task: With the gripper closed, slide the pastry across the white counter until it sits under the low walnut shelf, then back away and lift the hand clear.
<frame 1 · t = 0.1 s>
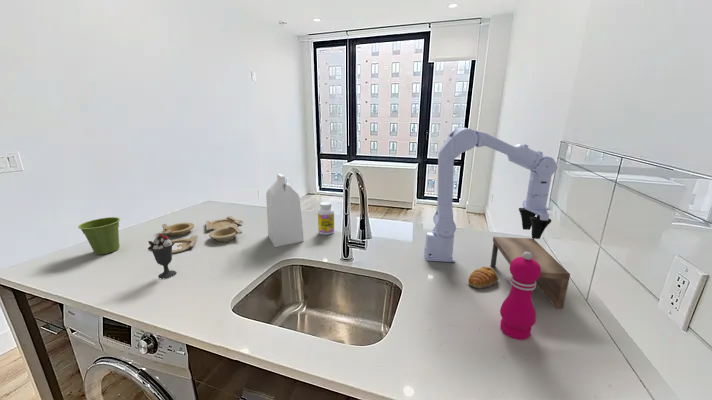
hand: (530, 233, 100), 10 cm above the worktop, tool pointing down, fingers open, 7 cm apart
plant pot: (107, 251, 113), on the worktop
sundae: (167, 275, 96), on the worktop
milk: (285, 238, 123), on the worktop
pastry: (482, 282, 91), on the worktop
pepper mill: (514, 331, 71), on the worktop
walnut shelf: (521, 284, 90), on the worktop
supplement bottle: (326, 232, 129), on the worktop
tableware set: (202, 236, 127), on the worktop
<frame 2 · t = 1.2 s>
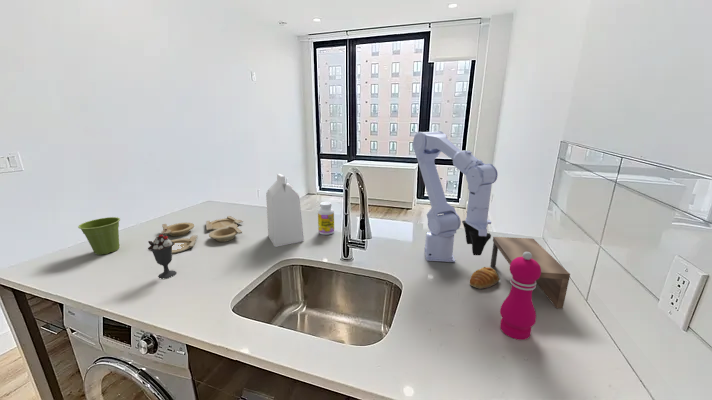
hand: (473, 249, 92), 9 cm above the worktop, tool pointing down, fingers open, 7 cm apart
nothing on the worktop moved.
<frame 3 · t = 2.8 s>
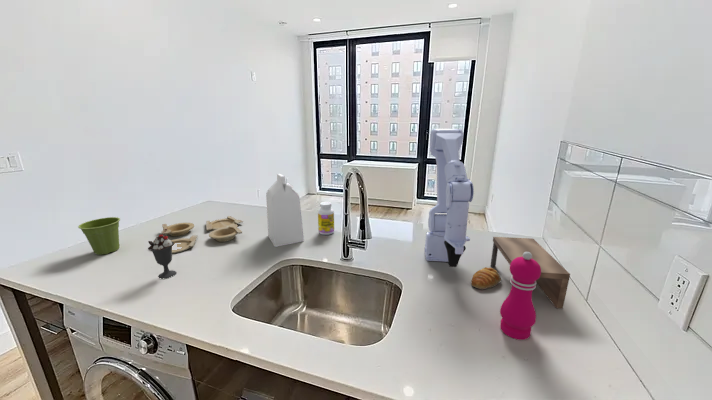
hand: (452, 265, 91), 5 cm above the worktop, tool pointing down, fingers closed
nothing on the worktop moved.
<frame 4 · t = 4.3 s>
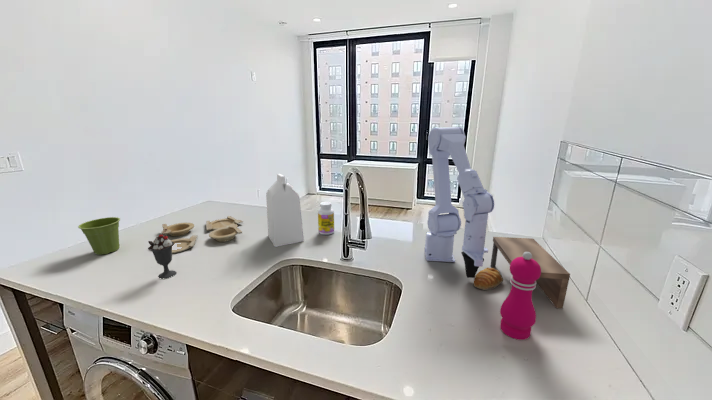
hand: (470, 276, 91), 1 cm above the worktop, tool pointing down, fingers closed
pastry: (487, 284, 90), on the worktop, touching gripper
everything else where it was.
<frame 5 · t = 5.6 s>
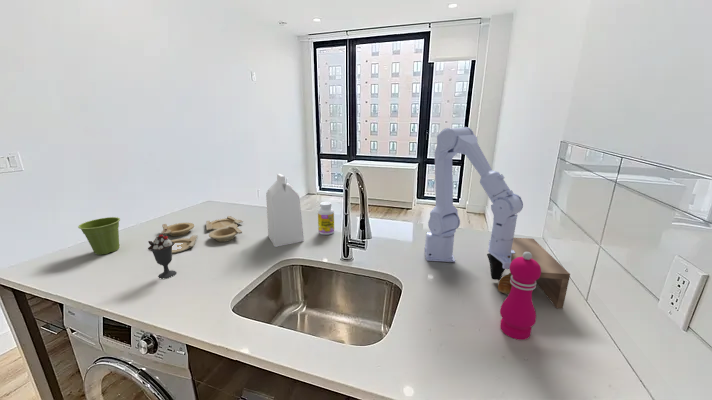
hand: (495, 278, 91), 1 cm above the worktop, tool pointing down, fingers closed, pressing on walnut shelf
pastry: (512, 289, 88), on the worktop, touching gripper
everything else where it was.
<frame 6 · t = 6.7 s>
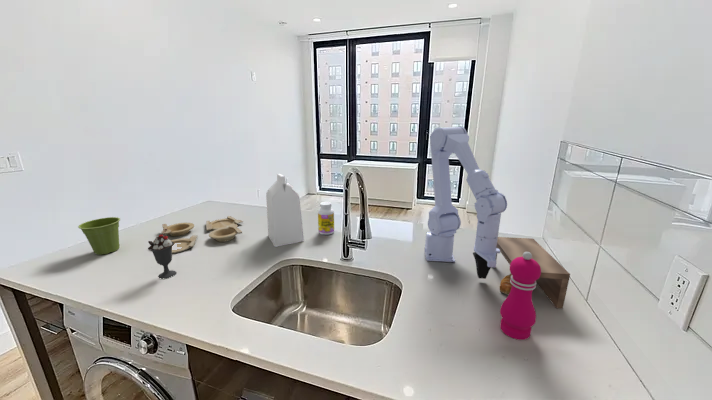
hand: (481, 277, 91), 1 cm above the worktop, tool pointing down, fingers closed
pastry: (513, 289, 88), on the worktop
everything else where it was.
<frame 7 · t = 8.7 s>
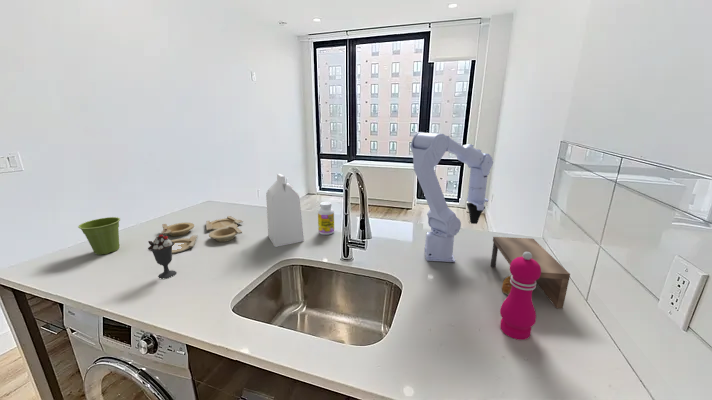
hand: (473, 223, 111), 9 cm above the worktop, tool pointing down, fingers closed
nothing on the worktop moved.
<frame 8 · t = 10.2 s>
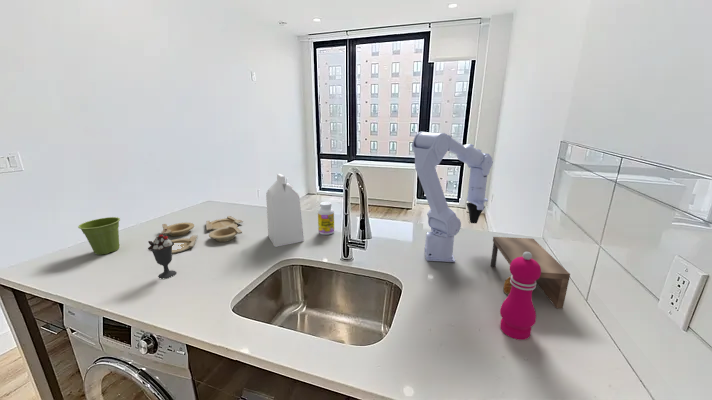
hand: (473, 222, 112), 9 cm above the worktop, tool pointing down, fingers closed
nothing on the worktop moved.
at the end: pastry inside the target area on the walnut shelf (3.4 cm from its centre), point -0.5 cm above the walnut shelf's base; pastry tilted 0°; the gripper is holding nothing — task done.
